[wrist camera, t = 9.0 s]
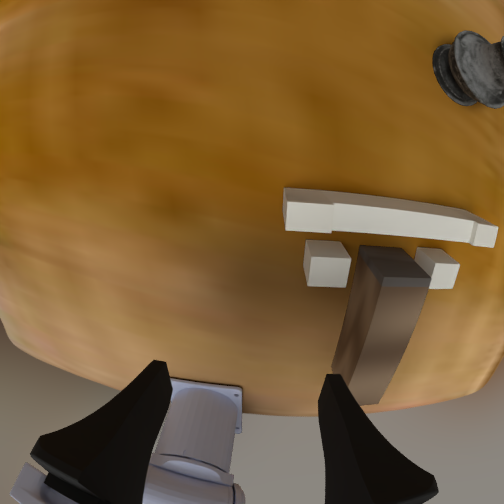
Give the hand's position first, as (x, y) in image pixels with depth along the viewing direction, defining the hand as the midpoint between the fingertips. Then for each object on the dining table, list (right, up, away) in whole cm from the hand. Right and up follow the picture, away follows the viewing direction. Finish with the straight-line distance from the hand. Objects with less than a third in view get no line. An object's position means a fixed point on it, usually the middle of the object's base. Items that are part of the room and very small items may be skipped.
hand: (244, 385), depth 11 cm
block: (+10, +1, +10) cm, 14 cm away
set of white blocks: (+10, +7, +7) cm, 14 cm away
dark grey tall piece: (+16, +20, +2) cm, 26 cm away
